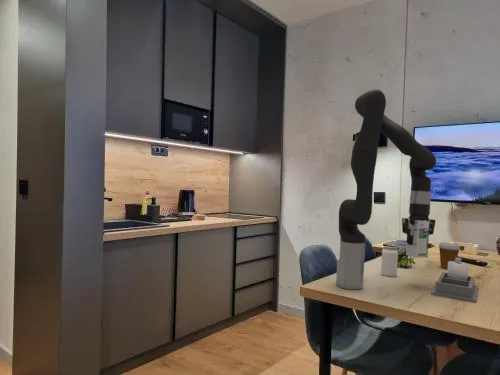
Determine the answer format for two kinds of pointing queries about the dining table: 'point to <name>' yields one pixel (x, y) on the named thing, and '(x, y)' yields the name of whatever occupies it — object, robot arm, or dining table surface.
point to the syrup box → (419, 240)
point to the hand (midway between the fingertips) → (417, 244)
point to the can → (389, 262)
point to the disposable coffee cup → (448, 253)
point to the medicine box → (401, 244)
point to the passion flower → (404, 258)
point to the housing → (456, 283)
